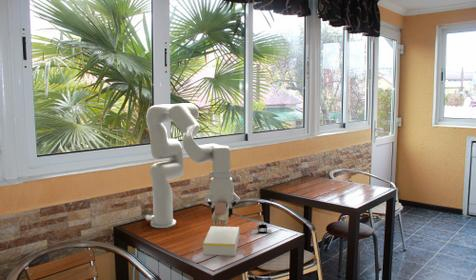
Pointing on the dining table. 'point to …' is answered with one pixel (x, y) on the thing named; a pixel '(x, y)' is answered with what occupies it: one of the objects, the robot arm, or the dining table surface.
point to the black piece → (262, 231)
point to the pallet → (221, 218)
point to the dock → (221, 241)
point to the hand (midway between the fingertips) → (222, 215)
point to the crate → (220, 208)
